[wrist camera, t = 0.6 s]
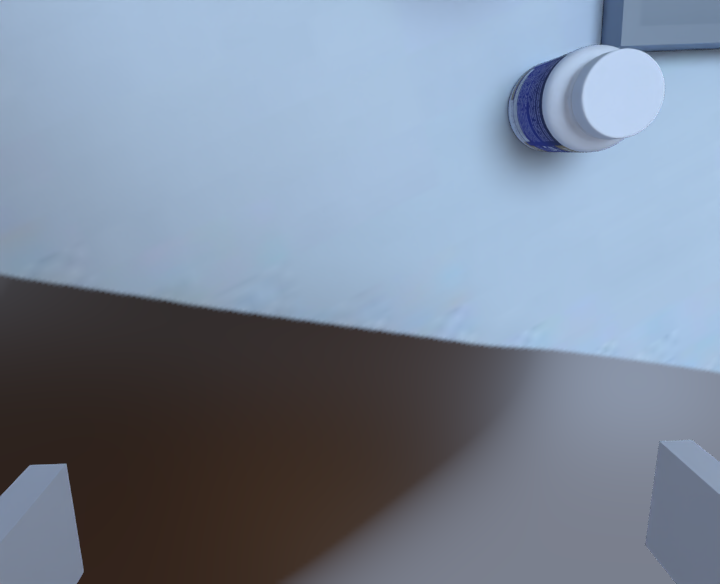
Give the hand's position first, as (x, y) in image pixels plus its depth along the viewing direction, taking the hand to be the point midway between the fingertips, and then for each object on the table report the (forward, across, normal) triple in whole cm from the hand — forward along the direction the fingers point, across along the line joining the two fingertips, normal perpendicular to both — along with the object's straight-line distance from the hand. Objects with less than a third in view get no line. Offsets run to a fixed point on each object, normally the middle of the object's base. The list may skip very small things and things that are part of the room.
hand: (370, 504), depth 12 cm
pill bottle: (+25, +13, +10) cm, 29 cm away
